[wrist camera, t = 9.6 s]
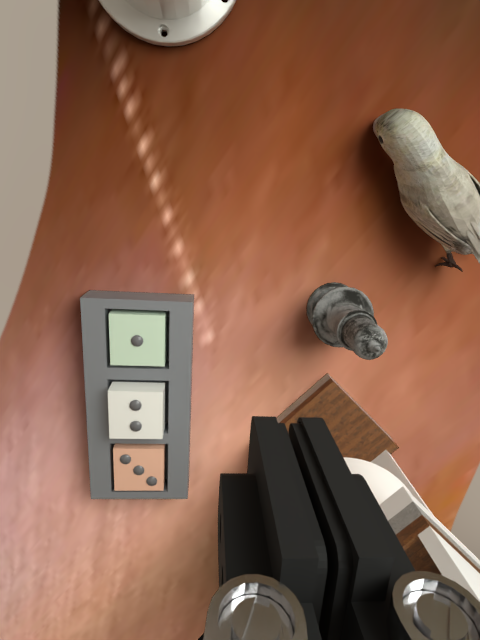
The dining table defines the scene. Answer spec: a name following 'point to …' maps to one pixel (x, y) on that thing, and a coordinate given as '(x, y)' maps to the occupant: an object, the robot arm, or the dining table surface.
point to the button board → (171, 374)
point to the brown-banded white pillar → (387, 483)
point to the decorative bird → (432, 183)
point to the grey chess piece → (346, 320)
